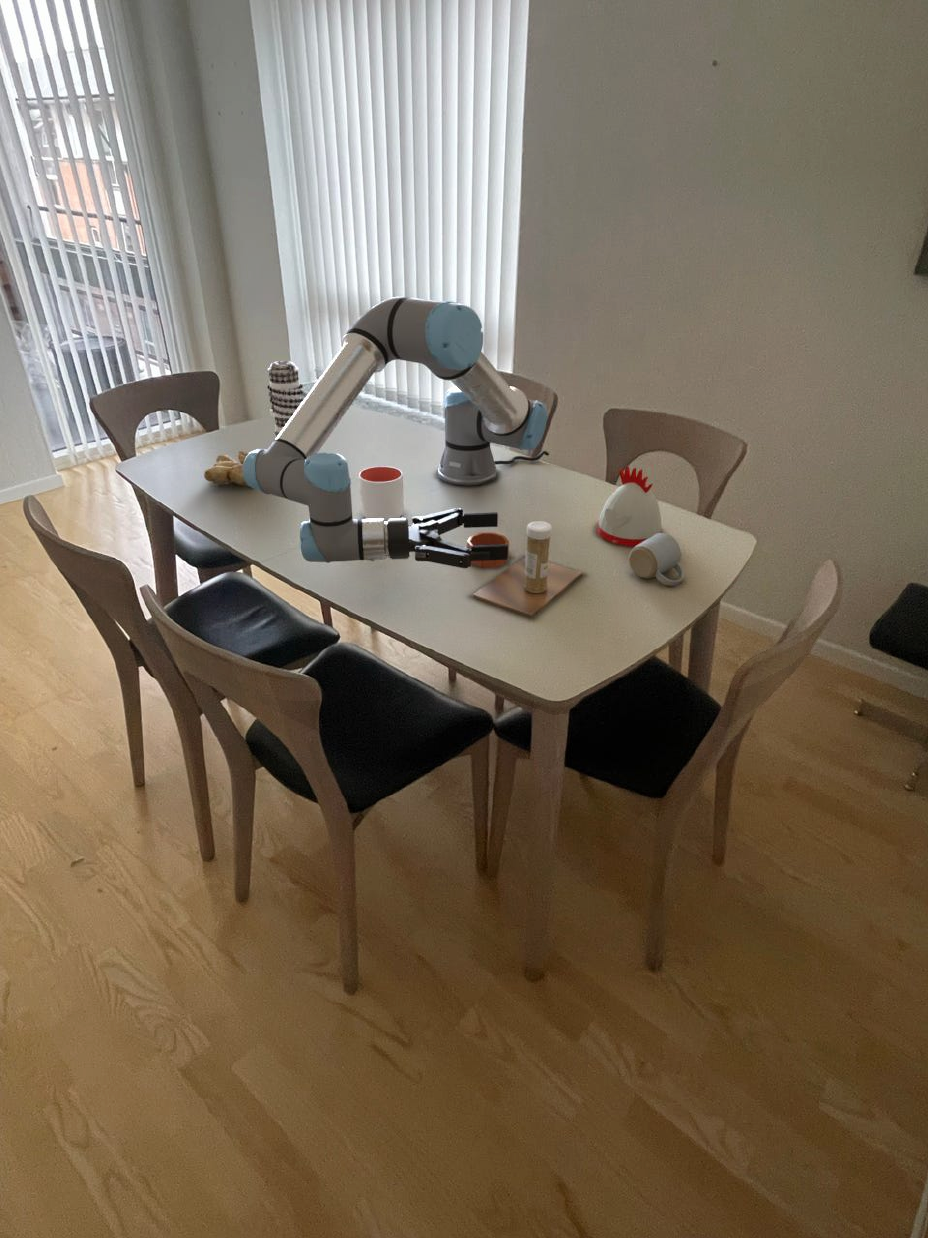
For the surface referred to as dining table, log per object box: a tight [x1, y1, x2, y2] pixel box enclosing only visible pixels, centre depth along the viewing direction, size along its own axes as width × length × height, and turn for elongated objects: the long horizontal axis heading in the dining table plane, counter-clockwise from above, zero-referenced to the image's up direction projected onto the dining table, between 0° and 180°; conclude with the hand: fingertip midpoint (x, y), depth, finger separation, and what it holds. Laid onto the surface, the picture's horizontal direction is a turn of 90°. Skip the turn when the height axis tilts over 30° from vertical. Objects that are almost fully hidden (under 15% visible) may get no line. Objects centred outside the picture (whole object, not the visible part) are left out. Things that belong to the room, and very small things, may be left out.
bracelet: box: [466, 531, 510, 569], centre depth 155 cm, size 8×9×4 cm
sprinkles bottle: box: [524, 520, 553, 593], centre depth 140 cm, size 5×5×13 cm
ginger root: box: [203, 450, 250, 487], centre depth 188 cm, size 16×16×8 cm
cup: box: [358, 465, 405, 522], centre depth 171 cm, size 10×10×10 cm
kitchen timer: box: [597, 465, 662, 547], centre depth 163 cm, size 14×14×15 cm
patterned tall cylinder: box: [266, 360, 305, 438], centre depth 200 cm, size 9×9×25 cm
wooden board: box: [472, 555, 583, 619], centre depth 146 cm, size 20×13×1 cm, turn 145°
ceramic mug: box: [628, 532, 685, 587], centre depth 148 cm, size 11×8×8 cm
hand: (502, 535), depth 137 cm, fingers open, 13 cm apart
